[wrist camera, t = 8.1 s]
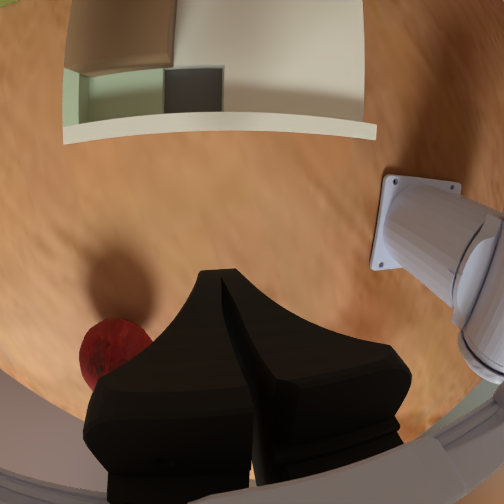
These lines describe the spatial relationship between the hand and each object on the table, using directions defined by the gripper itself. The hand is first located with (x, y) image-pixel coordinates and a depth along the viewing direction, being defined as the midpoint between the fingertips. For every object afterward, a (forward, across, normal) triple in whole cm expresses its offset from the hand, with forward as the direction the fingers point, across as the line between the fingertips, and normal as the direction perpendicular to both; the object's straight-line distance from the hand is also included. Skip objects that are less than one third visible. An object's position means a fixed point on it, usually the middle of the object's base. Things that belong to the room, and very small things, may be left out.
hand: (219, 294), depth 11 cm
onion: (+10, +7, +9) cm, 15 cm away
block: (+8, +4, -12) cm, 15 cm away
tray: (+10, -1, -12) cm, 16 cm away
